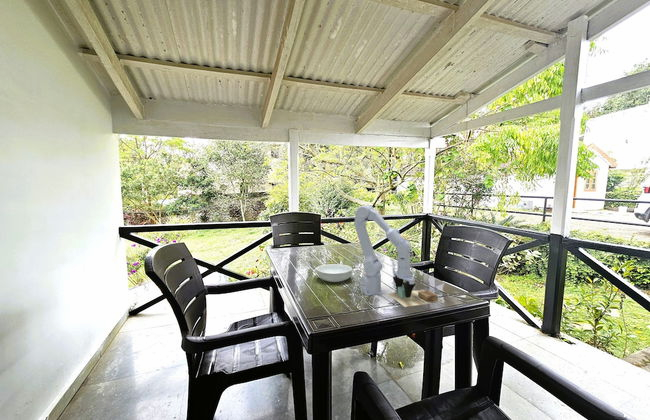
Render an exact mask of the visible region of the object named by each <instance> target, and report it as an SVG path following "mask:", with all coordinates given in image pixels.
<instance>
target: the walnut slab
mask: <svg viewBox="0 0 650 420" xmlns="http://www.w3.org/2000/svg"><path fill="white" fill-rule="evenodd" d="M418 297H419V298H421V299H422V300H424V301H425V302H430V301H437V300H438V298H439V297H438V294H437V293H435V292H432V291H431V290H424V291H422V292H418Z"/></svg>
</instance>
